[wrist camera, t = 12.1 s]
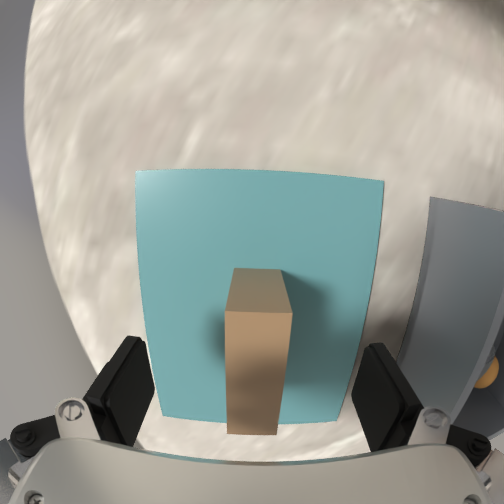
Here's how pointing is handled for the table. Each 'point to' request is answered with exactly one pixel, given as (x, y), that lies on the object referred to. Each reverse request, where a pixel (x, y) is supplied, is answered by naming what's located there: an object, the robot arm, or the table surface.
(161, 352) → the lid
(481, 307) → the storage box
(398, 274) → the table surface
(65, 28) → the table surface
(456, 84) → the table surface
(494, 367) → the rubber ball
